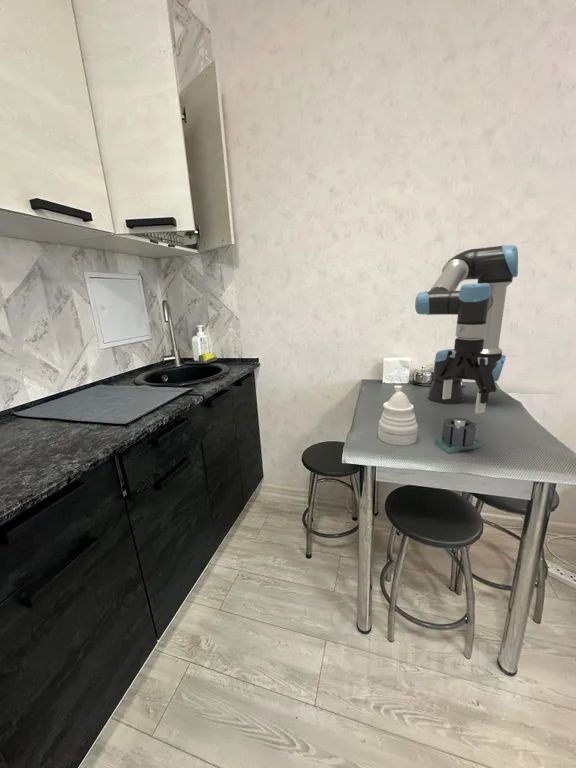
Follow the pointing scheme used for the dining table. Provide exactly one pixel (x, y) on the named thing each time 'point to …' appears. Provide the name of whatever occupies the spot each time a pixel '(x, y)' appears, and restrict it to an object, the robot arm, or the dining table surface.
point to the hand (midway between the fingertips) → (461, 405)
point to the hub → (458, 433)
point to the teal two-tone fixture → (452, 448)
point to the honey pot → (398, 420)
